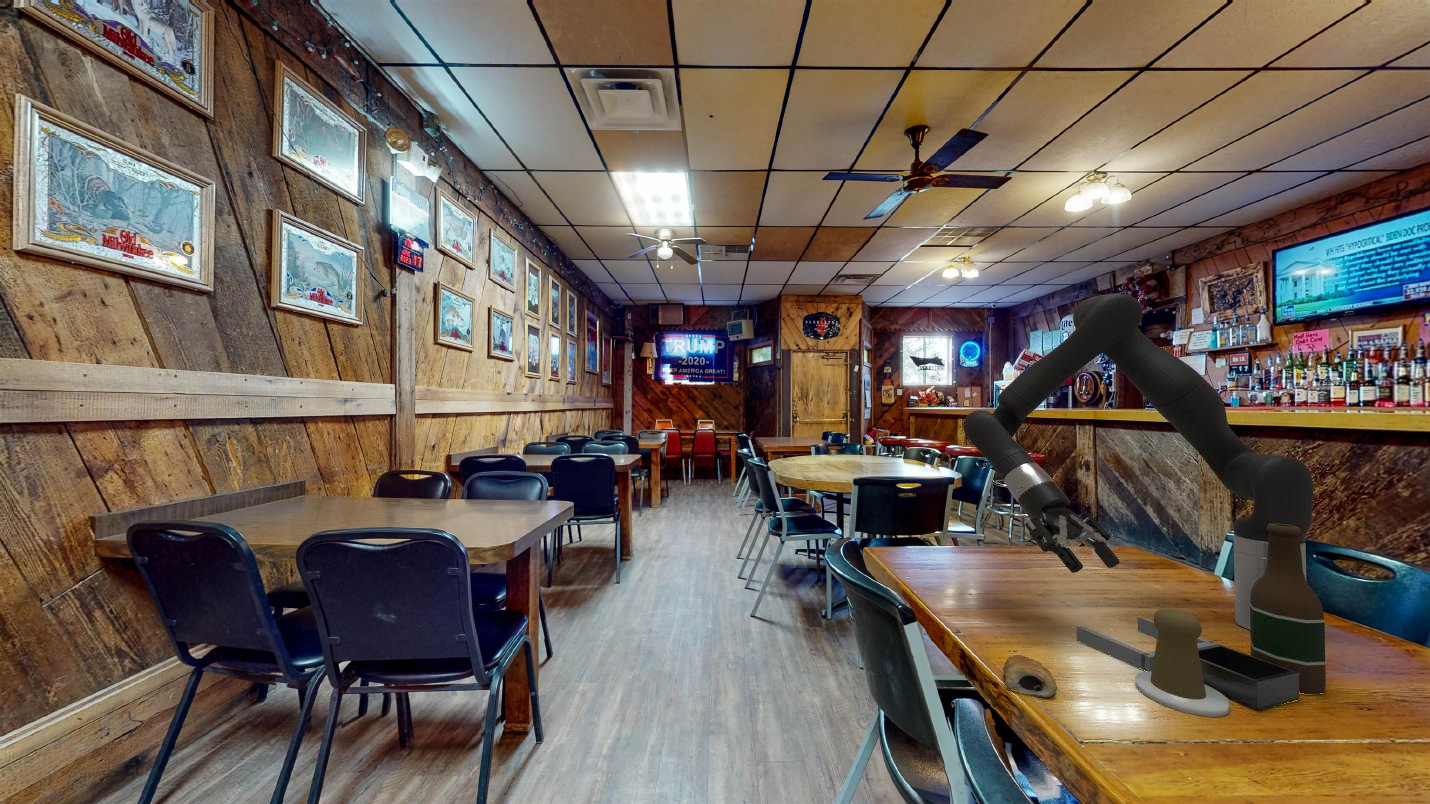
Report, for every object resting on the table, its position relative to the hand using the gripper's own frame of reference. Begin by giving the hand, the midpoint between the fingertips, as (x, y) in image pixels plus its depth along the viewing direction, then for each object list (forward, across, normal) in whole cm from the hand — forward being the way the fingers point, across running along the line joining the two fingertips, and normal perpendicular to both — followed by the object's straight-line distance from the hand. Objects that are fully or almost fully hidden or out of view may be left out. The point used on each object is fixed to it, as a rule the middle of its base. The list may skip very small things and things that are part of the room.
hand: (1097, 568), depth 87 cm
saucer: (+20, -2, +1) cm, 20 cm away
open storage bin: (+20, +8, 0) cm, 22 cm away
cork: (+19, -2, 0) cm, 19 cm away
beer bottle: (+22, +18, 0) cm, 28 cm away
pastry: (+13, -21, +7) cm, 26 cm away
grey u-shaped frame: (+11, +9, +9) cm, 17 cm away
